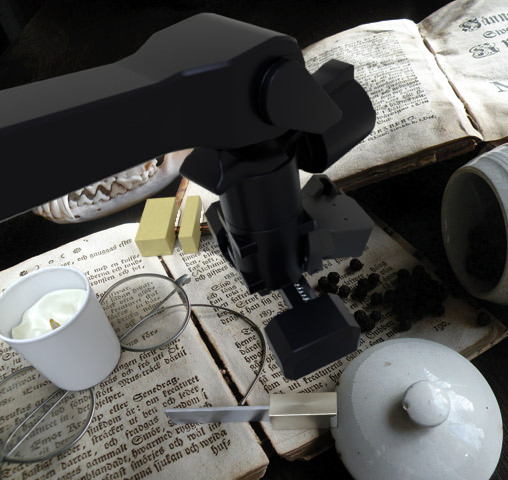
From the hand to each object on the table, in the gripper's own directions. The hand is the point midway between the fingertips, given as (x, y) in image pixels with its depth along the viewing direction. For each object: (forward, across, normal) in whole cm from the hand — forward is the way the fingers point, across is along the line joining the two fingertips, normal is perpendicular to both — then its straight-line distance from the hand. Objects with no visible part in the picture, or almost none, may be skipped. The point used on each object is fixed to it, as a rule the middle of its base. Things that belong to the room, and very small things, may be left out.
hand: (284, 327), depth 45 cm
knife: (+12, -1, +5) cm, 13 cm away
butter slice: (+12, +31, +3) cm, 33 cm away
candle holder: (+12, +16, +21) cm, 29 cm away
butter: (+12, +33, +7) cm, 36 cm away
